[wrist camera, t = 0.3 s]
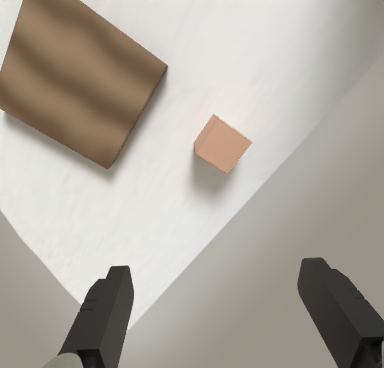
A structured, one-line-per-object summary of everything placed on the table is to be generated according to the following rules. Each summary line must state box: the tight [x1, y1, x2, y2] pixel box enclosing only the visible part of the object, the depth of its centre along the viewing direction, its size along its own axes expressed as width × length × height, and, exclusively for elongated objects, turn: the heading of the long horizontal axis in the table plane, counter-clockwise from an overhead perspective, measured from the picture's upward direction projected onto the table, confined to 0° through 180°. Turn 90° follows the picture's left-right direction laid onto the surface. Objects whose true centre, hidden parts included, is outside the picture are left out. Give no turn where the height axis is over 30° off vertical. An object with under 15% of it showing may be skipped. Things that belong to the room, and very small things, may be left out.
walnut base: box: [0, 0, 168, 169], centre depth 29 cm, size 16×16×2 cm
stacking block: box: [194, 114, 252, 174], centre depth 31 cm, size 5×5×6 cm
